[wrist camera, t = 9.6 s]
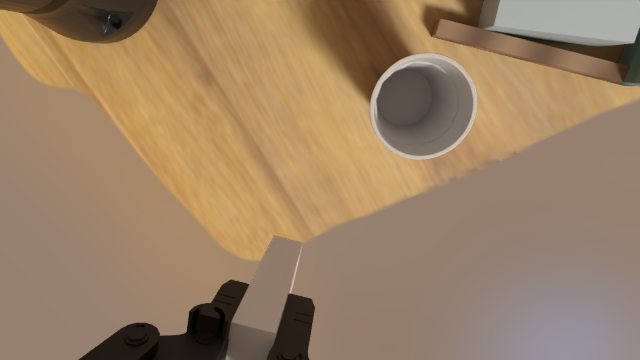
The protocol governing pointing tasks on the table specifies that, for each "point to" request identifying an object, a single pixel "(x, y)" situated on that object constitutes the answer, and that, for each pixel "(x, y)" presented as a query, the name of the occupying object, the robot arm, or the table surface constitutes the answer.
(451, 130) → the cup
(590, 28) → the block
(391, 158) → the table surface
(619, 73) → the brown green u-shaped frame
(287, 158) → the table surface
